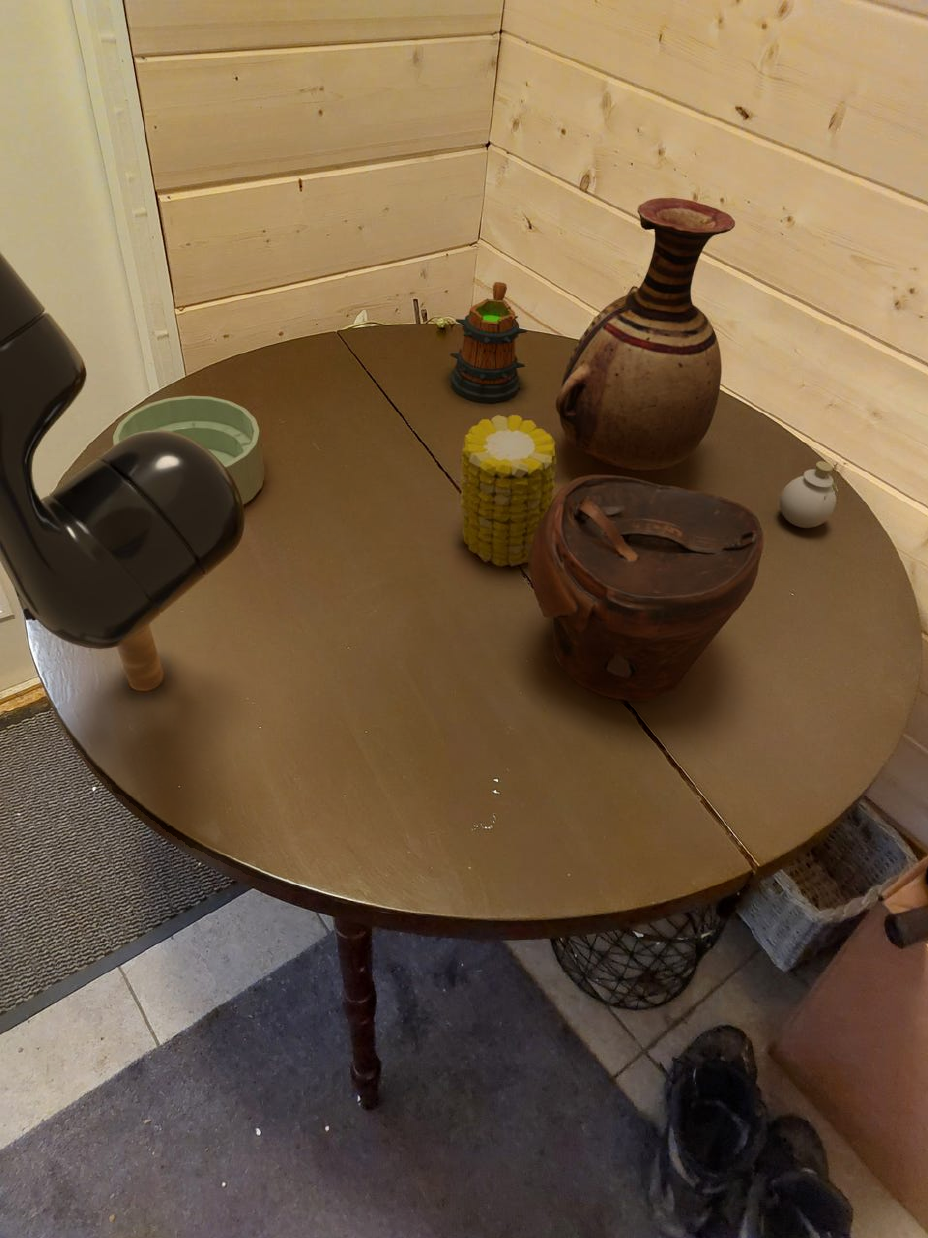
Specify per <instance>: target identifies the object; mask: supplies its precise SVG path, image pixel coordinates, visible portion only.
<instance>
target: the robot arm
mask: <svg viewBox="0 0 928 1238" xmlns="http://www.w3.org/2000/svg"><path fill="white" fill-rule="evenodd" d="M45 311H46V307H45V306H44V304H43V303H41V301H40V300H39V299H38V297H37V296H36V295H35V294H34V292H33V291H32V289H30V287H29V286H28V285H27V283H26V282H25V281H24V280H23V278H22V277H21V276H20V274H19V273H18V272H17V270H15V268H14V267H13V265H12V264H11V263H10V262H9V261H8V259H7V258H6V257H5V256H4V254H3V253H2V252H1V251H0V563H1V565H2V568H3V569H4V571H5V573H6V575H7V577H8V579H9V580H10V582H11V584H12V586H13V588H14V592H15V594H16V596H17V601H18V603H19V605H20V608H21V611H22V614H23V615H24V618H25V621H30V620H31V621H32V622H34V621H37V622H38V623H39V624H40V625H41V626H42V627H43V628H45V629H46V630H47V631H48V632H49V633H51V634H52V635H54V636H55V637H57V638H58V639H61V640H63V641H64V642H67V643H69V644H71V645H73V646H74V645H75V646H78V647H81V648H86V649H94V650H104V649H105V650H106V649H107V650H108V649H113V648H117V646H119V645H122V644H123V643H125V642H127V641H128V640H130V639H131V638H133V637H134V636H135V635H137V634H138V633H139V632H140V631H141V630H143V629H144V628H145V627H146V626H147V625H150V624H151V623H152V622H153V621H155V620H156V619H157V618H158V617H159V616H160V615H161V614H162V613H164V612H165V611H166V610H167V609H168V608H170V607H171V606H173V604H174V603H176V602H177V601H178V600H179V599H181V597H183V596H184V595H185V594H186V593H188V592H189V591H190V590H191V589H192V588H194V587H195V586H196V585H197V584H198V583H200V582H201V581H202V580H203V579H204V576H208V575H209V574H210V573H212V572H213V571H214V570H215V569H216V568H217V567H218V566H220V565H221V564H222V563H223V562H224V561H225V560H226V559H227V558H228V557H230V555H232V554H233V552H235V550H236V549H237V548H238V546H239V545H240V542H241V540H242V538H243V534H244V530H245V522H246V521H245V518H246V517H245V509H244V505H243V503H242V499H241V496H240V493H239V490H238V488H237V486H236V484H235V482H234V480H233V478H232V477H231V475H230V473H229V472H228V470H227V469H226V468H225V466H224V465H223V464H222V463H221V462H220V461H219V460H218V458H217V457H216V456H215V455H213V454H212V453H211V452H210V451H209V450H208V449H206V448H205V447H204V446H202V445H201V444H199V443H198V442H196V441H194V440H192V439H190V438H188V437H186V436H183V435H180V434H178V433H174V432H171V431H165V430H150V431H143V432H139V433H136V434H133V435H131V436H129V437H127V438H125V439H124V440H122V441H120V442H119V443H117V444H116V445H115V446H114V445H113V446H112V447H110V448H109V449H108V450H107V451H105V452H104V453H102V454H101V455H100V456H99V457H98V459H94V460H93V461H92V462H90V463H89V464H88V465H86V466H85V467H84V468H82V469H81V470H80V471H78V472H77V473H76V474H74V475H73V476H72V477H70V478H68V480H66V481H65V482H64V483H63V484H61V485H60V486H58V487H57V488H56V489H55V490H53V491H52V492H50V493H49V495H47V496H44V497H43V498H40V496H39V494H38V493H37V489H36V487H35V483H34V477H33V462H34V457H35V453H36V451H37V449H38V447H39V446H40V443H41V442H42V440H43V439H44V437H45V436H46V435H47V433H48V432H49V431H50V430H51V428H52V427H53V426H54V425H55V424H56V423H57V422H58V421H59V420H60V418H61V417H62V416H63V415H64V414H65V412H67V410H68V409H69V408H70V407H71V406H72V404H74V402H75V401H76V399H77V398H78V397H79V395H80V394H81V392H82V390H83V388H84V387H85V384H86V381H87V366H86V363H85V361H84V359H83V357H82V355H81V354H80V352H79V350H78V349H77V348H76V346H75V344H74V343H73V342H72V340H71V339H70V337H69V336H68V335H67V333H66V332H65V331H64V330H63V328H62V327H61V326H60V325H59V323H58V322H57V321H56V320H55V318H54V317H53V316H52V314H50V313H49V312H45Z"/></svg>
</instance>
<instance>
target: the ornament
mask: <svg viewBox="0 0 928 1238" xmlns="http://www.w3.org/2000/svg"><path fill="white" fill-rule="evenodd" d="M838 463H839V462H836V464H835V463H833V465H832V464H831V463H829V462H827V461H823V460H820V461H817V462H816V464H815V468H814V469H807V470H806V471H804V473H803V475H801V476H798V477H796V478H794V479H792V480H790V481H789V482H788V483H787V484H786V485H785V486H784V488H783V489H782V491H781V494H780V498H779V509H780V512H781V514H782V516H783V517H784V519H785V520H786V521H787V522H788V523H790V525H793V526H794V527H798V528H804V529H810V528H815V527H818V526H820V525H822V524H824V523H825V522H827V521H828V520H829V519H830V518H831V516H833V515H832V514H833V513H834V511H835V509H836V504H837V495H836V491H837V492H838V491H839V490H838V487H837V485H838V482H839V479H837V480H836V482H834V478H833V477H832V476H831V475H830V473H831V472H832V473H834V472H835V471H836V472H838V468H837V467H838ZM835 490H836V491H835Z"/></svg>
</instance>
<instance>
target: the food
mask: <svg viewBox="0 0 928 1238" xmlns="http://www.w3.org/2000/svg"><path fill="white" fill-rule="evenodd" d="M556 444H557V443H556V442H555V440H554V438H553V437H552V436H551V434H550V433H548V432H547V431H545V430H544V429H543V428H538V427H537V425H536V424H535V422H534V421H533V420H531V419H530V420H529V419H528V420H526V419H525V420H523V418H522V417H521V416H520V415H518V414H517V415H516V414H510V415H509V416H508V417H506V416H503V415H500V414H497V415H495V416H493V417H492V418H491V419H489V418H488V419H486V418H485V419H483V418H482V419H481V420H480V421H479V422H478V424H477V425H472V426H471V427H470V428H469V430H468V431H467V434H465V435H464V439H463V443H462V449H461V455H462V458H461V459H462V460H461V464H462V465H461V470H462V474H461V476H460V480H461V481H462V482H461V489H462V490H461V493H460V496H461V498H462V499H461V508H462V509H461V511H462V512H461V514H462V522H461V527H462V535H463V542H464V543H465V544H466V545H467V546H468V550H469V551H470V552H471V553H473V554H477V556H479V558H480V559H481V560H482V561H483V562H484V563H488V562H490V561H491V562H492V564H493V565H495V566H497V567H500V568H503V567H505V566H507V565H509V566H511V567H515V566H517V565H521V564H526V563H529V555H530V548H531V545H532V540H533V537H534V534H535V531H536V529H537V527H538V525H539V523H540V522H541V520H542V519H543V517H544V515H545V514H546V512H547V510H548V509H549V507H550V505H551V503H552V501H553V499H554V493H553V490H554V488H555V482H554V480H555V475H556V472H555V471H554V470H555V466H556V465H557V459H556V450H555V446H556Z"/></svg>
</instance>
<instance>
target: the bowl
mask: <svg viewBox="0 0 928 1238" xmlns="http://www.w3.org/2000/svg"><path fill="white" fill-rule="evenodd" d="M150 430H165V431H171V432H174V433H178V434H180V435H183V436H186V437H188V438H190V439H192V440H194V441H196V442H198V443H199V444H201V445H202V446H204V447H205V448H206V449H208V450H209V451H210V452H211V453H212V454H213V455H215V456H216V457H217V458H218V460H219V461H220V462H221V463H222V464H223V465H224V466H225V468H226V469H227V470H228V472H229V473H230V475H231V477H232V478H233V480H234V482H235V484H236V486H237V488H238V490H239V493H240V496H241V499H242V503H243V506H244V505H246V504H247V503H248V502H250V501H251V500H253V499H254V497H255V496H256V495H257V494H258V493H259V491H260V490H261V489H262V487H263V484H264V480H265V474H266V472H265V464H264V463H265V462H264V455H263V447H262V440H261V439H262V438H261V430H260V428H259V424H258V421H257V419H256V417H255V416H254V415H253V414H251V412H250V411H249V410H247V409H246V408H245V407H243V406H241V405H239V404H236V403H234V402H233V401H230V400H227V399H223V398H218V397H214V396H207V395H205V396H204V395H185V396H175V397H168V398H163V399H160V400H157V401H153V402H150V403H146V404H145V405H143V406H141V407H139V408H137V409H136V410H134V411H132V412H130V413H129V414H127V416H125V417H124V418H123V419H122V420H120V422H119V423H118V424H117V427H116V429H115V431H114V433H113V436H112V442H113V446H115V445H116V444H117V443H119V442H120V441H122V440H124V439H125V438H127V437H129V436H131V435H133V434H136V433H139V432H143V431H150Z"/></svg>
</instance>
